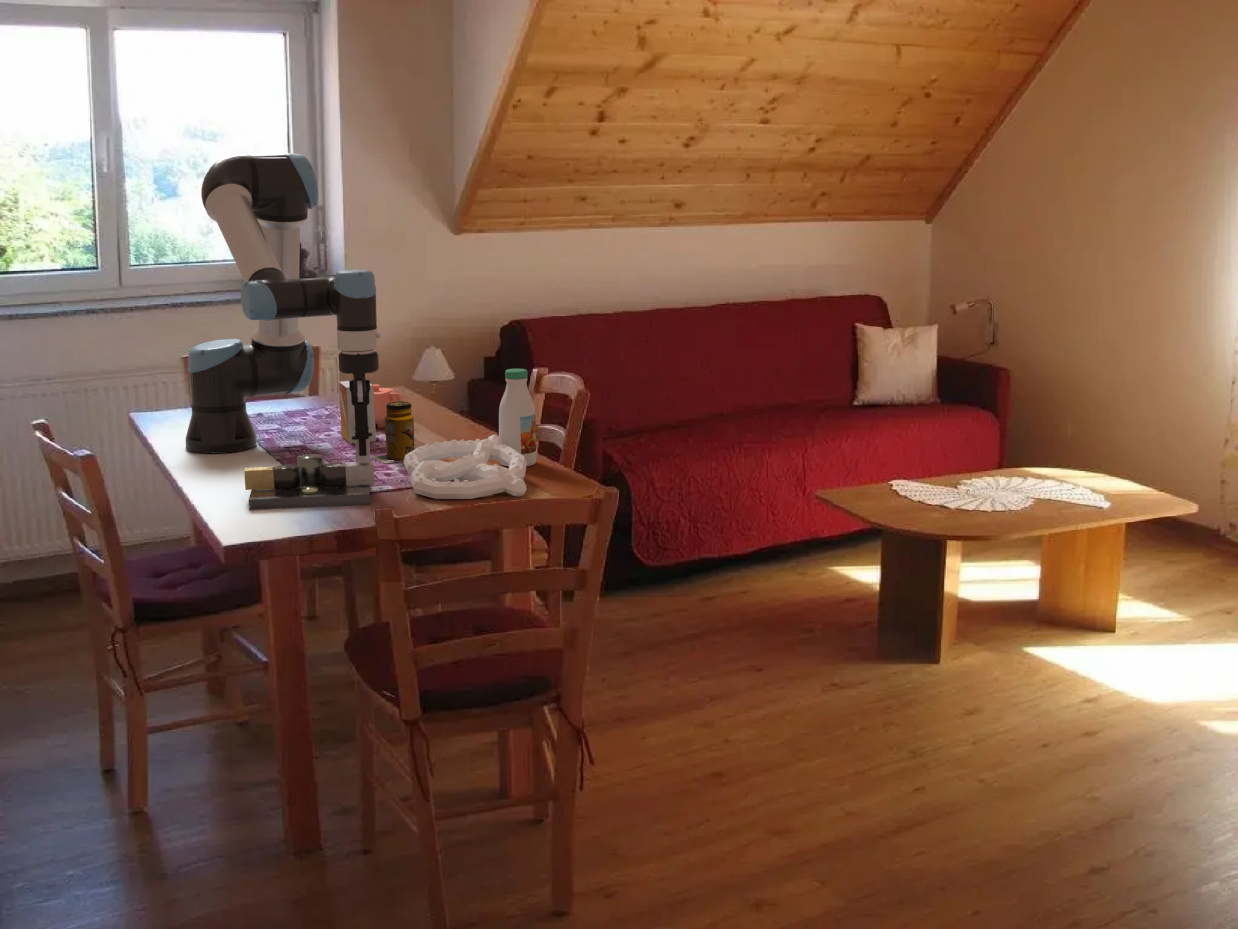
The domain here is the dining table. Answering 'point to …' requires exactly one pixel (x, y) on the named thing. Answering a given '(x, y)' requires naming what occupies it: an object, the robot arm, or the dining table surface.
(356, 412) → the robot arm
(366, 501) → the base plate
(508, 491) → the pretzel
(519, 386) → the milk bottle
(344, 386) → the small box
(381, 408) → the teapot
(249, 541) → the dining table surface
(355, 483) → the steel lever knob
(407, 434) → the condiment
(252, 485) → the brass lever knob
